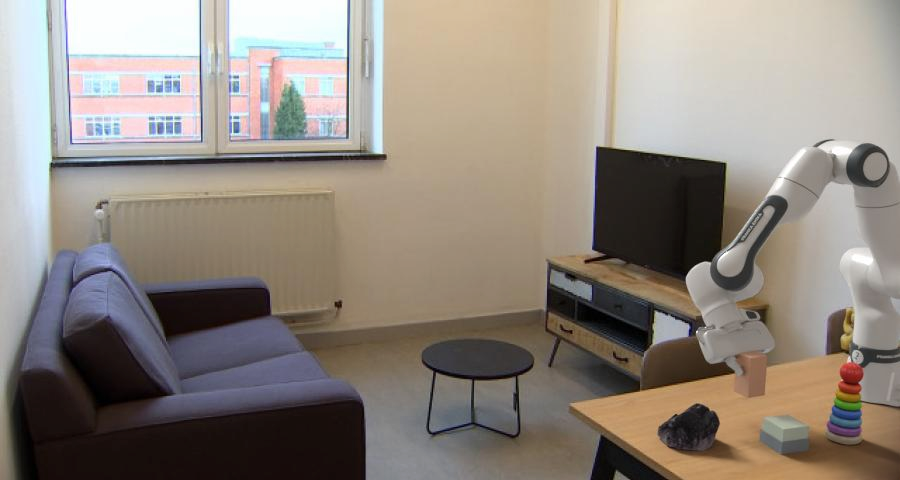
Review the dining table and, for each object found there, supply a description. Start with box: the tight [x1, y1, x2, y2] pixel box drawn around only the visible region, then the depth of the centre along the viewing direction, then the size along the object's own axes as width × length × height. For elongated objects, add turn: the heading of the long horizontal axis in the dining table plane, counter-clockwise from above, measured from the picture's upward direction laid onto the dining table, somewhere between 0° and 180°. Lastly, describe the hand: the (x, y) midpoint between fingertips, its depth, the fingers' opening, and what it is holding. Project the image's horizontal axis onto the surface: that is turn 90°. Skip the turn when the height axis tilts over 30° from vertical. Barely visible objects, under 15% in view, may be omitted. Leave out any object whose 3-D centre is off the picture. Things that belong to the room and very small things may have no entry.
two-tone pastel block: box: [758, 413, 810, 455], centre depth 200 cm, size 8×8×6 cm
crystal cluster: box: [657, 402, 721, 452], centre depth 202 cm, size 13×14×10 cm
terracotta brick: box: [733, 350, 768, 399], centre depth 210 cm, size 5×5×10 cm
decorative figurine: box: [840, 306, 855, 354], centre depth 268 cm, size 10×8×15 cm
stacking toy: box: [824, 362, 864, 446], centre depth 203 cm, size 8×8×19 cm
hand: (752, 372), depth 210 cm, fingers closed on terracotta brick, 5 cm apart
